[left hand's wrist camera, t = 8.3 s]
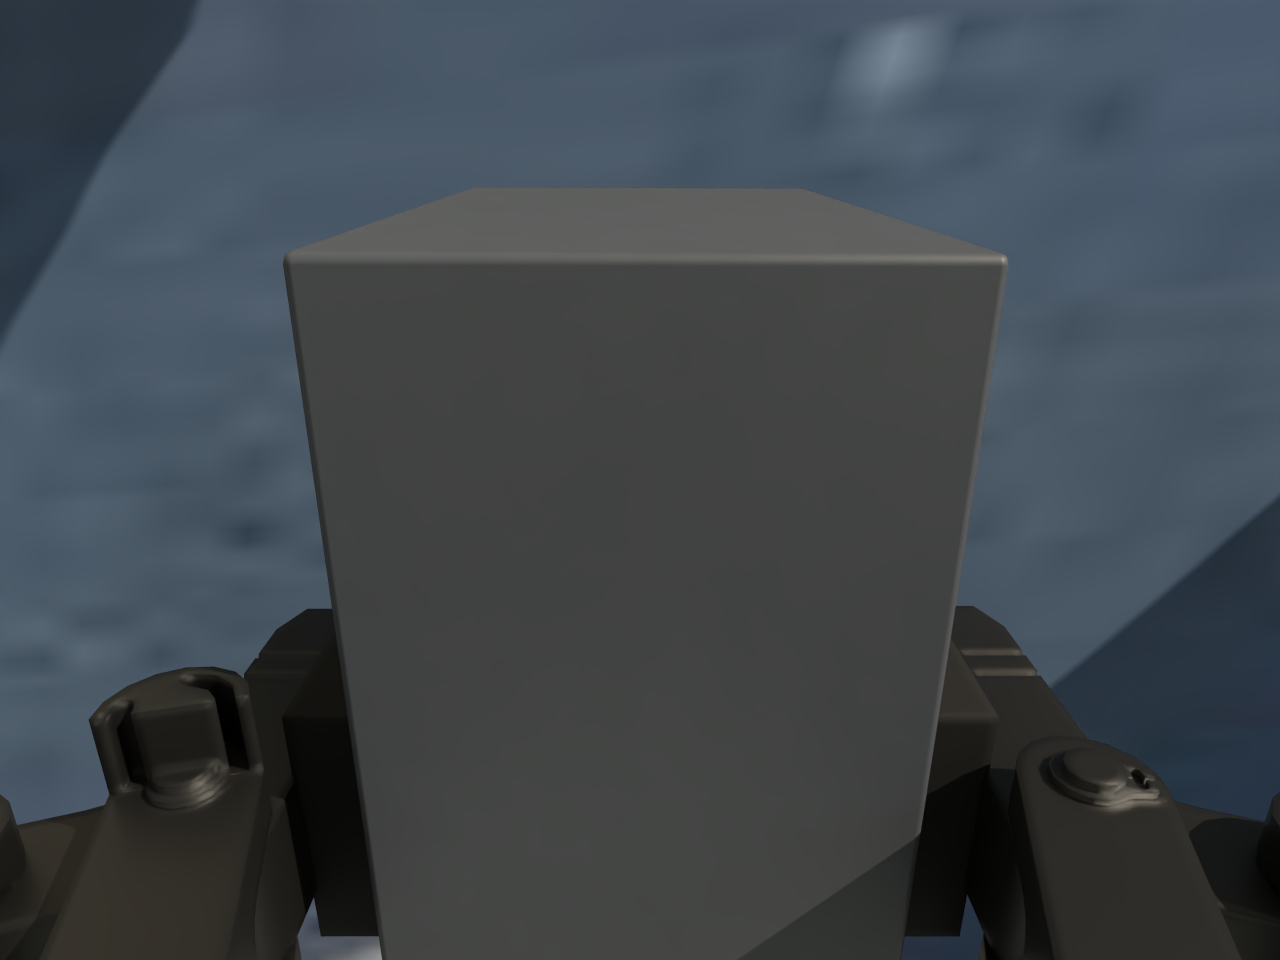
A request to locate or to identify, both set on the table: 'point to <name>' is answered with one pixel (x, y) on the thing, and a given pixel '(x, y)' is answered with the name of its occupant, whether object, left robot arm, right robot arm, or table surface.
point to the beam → (643, 560)
